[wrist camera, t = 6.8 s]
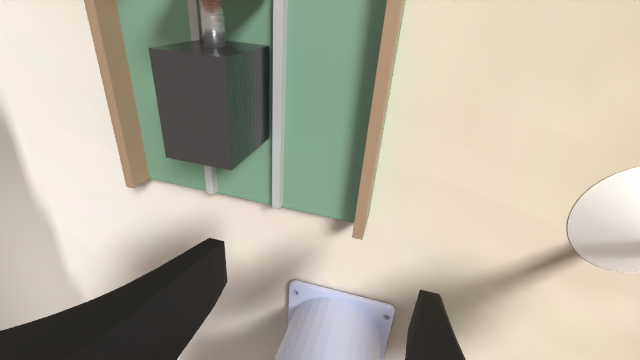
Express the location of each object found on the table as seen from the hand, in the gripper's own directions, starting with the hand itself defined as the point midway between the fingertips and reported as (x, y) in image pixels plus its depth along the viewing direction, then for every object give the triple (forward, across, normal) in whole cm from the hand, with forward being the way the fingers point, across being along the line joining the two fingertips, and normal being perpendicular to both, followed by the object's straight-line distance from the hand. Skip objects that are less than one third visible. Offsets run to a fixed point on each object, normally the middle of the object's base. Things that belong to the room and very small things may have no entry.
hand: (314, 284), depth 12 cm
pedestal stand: (+8, +7, -6) cm, 13 cm away
